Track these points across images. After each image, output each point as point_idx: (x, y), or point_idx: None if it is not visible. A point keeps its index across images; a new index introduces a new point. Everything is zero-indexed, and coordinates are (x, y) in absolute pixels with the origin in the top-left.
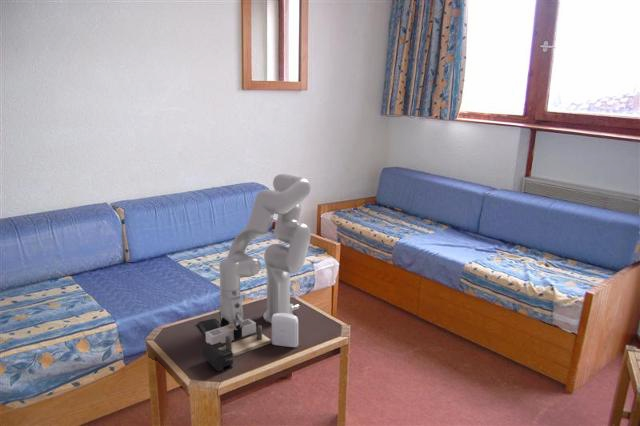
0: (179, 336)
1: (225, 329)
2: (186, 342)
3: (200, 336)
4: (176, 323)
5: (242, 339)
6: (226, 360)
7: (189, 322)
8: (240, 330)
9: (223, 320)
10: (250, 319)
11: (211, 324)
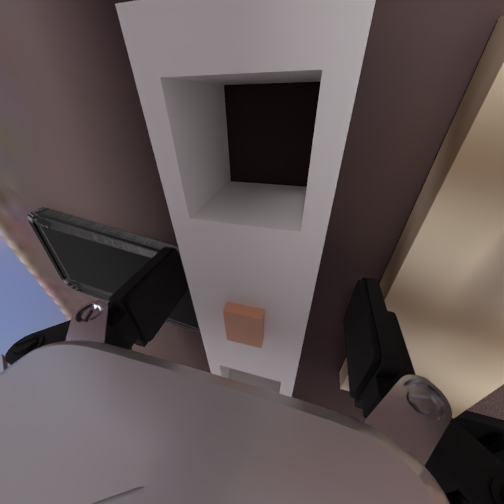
0: (155, 354)
1: (250, 353)
2: (203, 367)
3: (182, 330)
4: (64, 313)
5: (398, 281)
6: (500, 451)
7: (59, 289)
8: (410, 370)
9: (143, 335)
10: (166, 3)
11: (92, 259)
